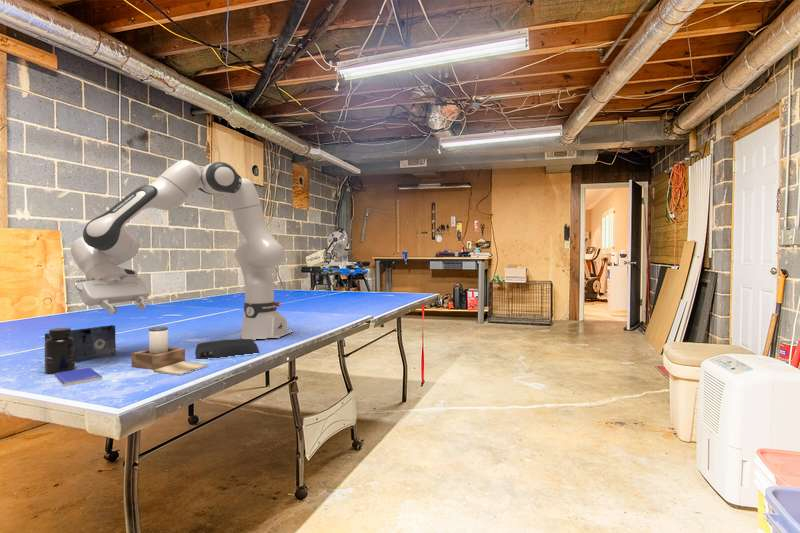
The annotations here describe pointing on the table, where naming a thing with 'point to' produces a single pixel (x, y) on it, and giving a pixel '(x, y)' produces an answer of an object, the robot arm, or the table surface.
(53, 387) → the table surface
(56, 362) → the supplement bottle
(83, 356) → the vhs cassette tape
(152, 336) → the beige cylinder
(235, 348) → the external hard drive
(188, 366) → the pad
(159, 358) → the block
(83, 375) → the blue book
